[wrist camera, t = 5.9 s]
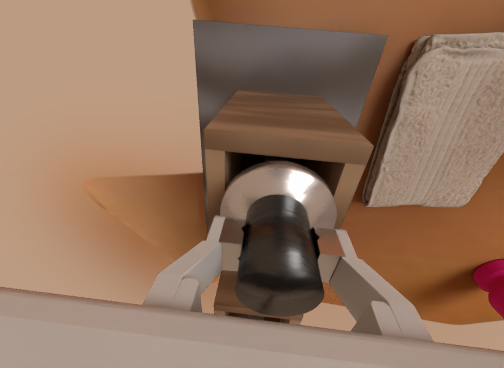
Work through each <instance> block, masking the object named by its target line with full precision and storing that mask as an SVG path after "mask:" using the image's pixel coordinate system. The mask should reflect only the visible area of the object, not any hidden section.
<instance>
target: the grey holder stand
mask: <svg viewBox="0 0 504 368" xmlns="http://www.w3.org/2000/svg"><path fill="white" fill-rule="evenodd" d="M193 28H194V44H195V59H196V74H197V87H198V104H199V119H200V134H201V147H202V148H201V149H202V164H203V179H204V194H205V209H206V224H207V236H208V233H209V230H210V227H211V225H212V222H213V219H214V217H215V216H216V215H217V216H220V207H221V203H222V200H223V197H224V194H225V191H226V189H227V187H228V185H229V184H230V182H231V181H232V180H233V179H234V177H235V176H237V175H238V174H239V173H240V172H242V171H243V170H245V169H247V168H249V167H251V166H253V165H256V164H259V163H263V162H265V155H269V156H279V157H288V162H293V163H297V164H300V165H303V166H305V167H307V168H309V169H311V170H313V171H314V172H316V173H317V174H318V175H319V176H320V177H321V178H322V179H323V180H324V181H325V182H326V184H327V185H328V187H329V189H330V191H331V194H332V196H333V199H334V201H335V204H336V210H337V217H336V222H335V225H334V227H333V229H340V227H341V225H342V222H343V220H344V217H345V215H346V213H347V210H348V208H349V205H350V203H351V201H352V198H353V196H354V193H355V191H356V189H357V186H358V184H359V181H360V179H361V177H362V174H363V172H364V169H365V167H366V165H367V162H368V160H369V157H370V155H371V153H372V150H373V148H374V146H373V145H372V144H371V143H370V142H369V141H368V140H367V139H366V138H365V137H364V136H363V135H362V134H361V133H360V132H359V131H358V130H357V129H356V126H357V123H358V120H359V118H360V115H361V112H362V109H363V106H364V103H365V100H366V98H367V95H368V92H369V89H370V86H371V83H372V80H373V77H374V75H375V72H376V69H377V66H378V63H379V60H380V57H381V54H382V52H383V49H384V46H385V43H386V40H387V37H388V35H377V34H364V33H352V32H339V31H327V30H314V29H302V28H289V27H277V26H265V25H252V24H240V23H227V22H215V21H202V20H193ZM237 272H238V271H228V270H222V271H221V275H220V280H219V284H218V289H217V293H216V297H215V302H214V314H216V315H224V316H232V317H240V318H248V315H256V316H264V321H272V322H280V323H288V324H296V325H300V323H301V320H302V318H303V314H300V315H295V316H284V317H282V316H270V315H265V314H261V313H258V312H256V311H253V310H251V309H249V308H247V307H246V306H245V305H243V304H242V303H241V302H240V301H239V300H238V298H237V296H236V294H235V285H236V278H237Z"/></svg>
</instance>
